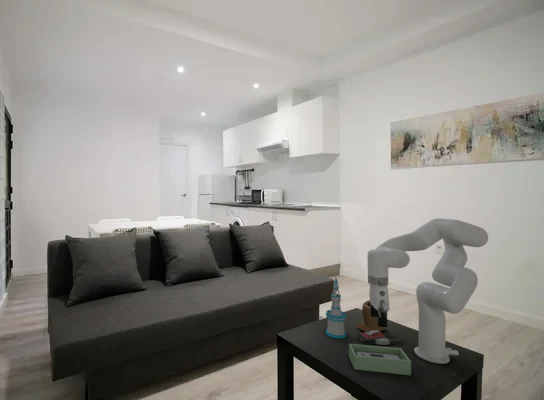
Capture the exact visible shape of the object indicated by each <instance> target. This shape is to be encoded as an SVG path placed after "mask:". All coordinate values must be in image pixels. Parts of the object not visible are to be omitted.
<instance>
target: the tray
mask: <svg viewBox="0 0 544 400" xmlns="http://www.w3.org/2000/svg"><path fill="white" fill-rule="evenodd" d="M356 352H367V353H378V354H388V355H397V356H398V357H399V358H400V359H392V358H381V357H371V356H361V355H356ZM348 358H349V360H350V363H351V365H352V368H353V370H355V371H356V370H357V371H365V372H374V373H375V372H377V373H383V374H391V375H393V374H394V375H403V376H405V375H406V376H412V360H411V359H410V358H409V357H408V355H407V354H406V353H405V351H404V350H403V349H402V348H400V347H391V346H382V345H379V346H378V345H371V344H357V343H348Z"/></svg>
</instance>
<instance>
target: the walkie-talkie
mask: <svg viewBox="0 0 544 400" xmlns="http://www.w3.org/2000/svg"><path fill="white" fill-rule="evenodd" d="M357 340H358V341H360V342H361V343H362V344H363V345H379V346H382V345H390V344H391V343H397V342H402V341H404V339H403V338H394V339H388V338H387V336H386V335H385V334H384V333H382V331H378V330H371V331H370V332H365V331H364V332H358V333H357Z"/></svg>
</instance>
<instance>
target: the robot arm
mask: <svg viewBox="0 0 544 400" xmlns="http://www.w3.org/2000/svg"><path fill="white" fill-rule="evenodd" d="M441 240H442V241H443V244H444V250H443V251H444V252H443V254H442V255H441V257H440V258H439V261H438V262H437V264H436V265H435V266H434V268H433V270H432V273H431V278H432V280H433V281H434V282H436V283H434V282H430V281H424V282H420V283H419V284H418V285H417V287H416V289H415V296H416V300H417V301H416V302H417V306H418V342H417V343H418V345H417V346H416V347H414V349H413V352H414V354H415V355H416V357H418V358H420V359H421V360H424V361H427V362H429V363H433V364H439V365H445V364H448V363H450V362H451V361H450V360H451V358H450V356H455V357H457V356H459V354H460V353H459V351H458V350H453V349H452V348H451V347H446V328H447V327H446V323H447V322H446V321H447V320H446V319H447V318H446V314H445V312H446V313H449V314H451V315H452V314H454V315H455V314H456V315H457V314H458V313H460V312H462V311H463V310H464V308H465V307H466V305H467V304H468V302H469V300H470V298H471V297H472V295H473V294H474V292H475V290H476V289H477V287H478V282H479V281H478V279H479V278H478V275H477V273H476V272H475V271H474V270H473V269H471V268H468V267H465V266H466V264H467V262H468V254H467V252H466V249H465V248H464V246H466V247H471V248H482V247H484V246H485V245H486V244H487V243H488V242H489V235H488V232H487V231H486V230H485V229H484V228H483V227H480V226H478V225H475V224H472V223H469V222H466V221H462V220H459V219H452V218H440V217H439V218H433V219H431V220H429V221H427V222H426V223H424V224H423V225H421V226H420V227H418V228H417V229H415V230H413V231H411V232H409V233H405V234H401V235H398V236H395V237H392V238H389V239H387V240H385V241H384V242H382V243H381V244H379V245H378V246H377V247H376V248H373V249H368V251H367V284H369V300H370V303H371V304H370V306H371V307H370V312H371V317H378V326H379V327H387V328H388V312H389V311H390V297H389V287H388V286H389V268H390V269H403V268H406V267H408V265H409V264H410V262H411V257H410V255H409V254H408V253H407V252H420V251H426V250H428V249H429V248H430V247H432V246H434V245H435V244H437V243H438V242H440V241H441ZM379 308H382V309H379ZM380 311H383V312H382V313H381V312H380Z"/></svg>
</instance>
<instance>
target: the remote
mask: <svg viewBox="0 0 544 400" xmlns="http://www.w3.org/2000/svg"><path fill="white" fill-rule="evenodd" d="M356 355H361V356H371V357H381V358H392V359H400V358H399V357H398V356H397V355H388V354H378V353H367V352H356Z"/></svg>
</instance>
